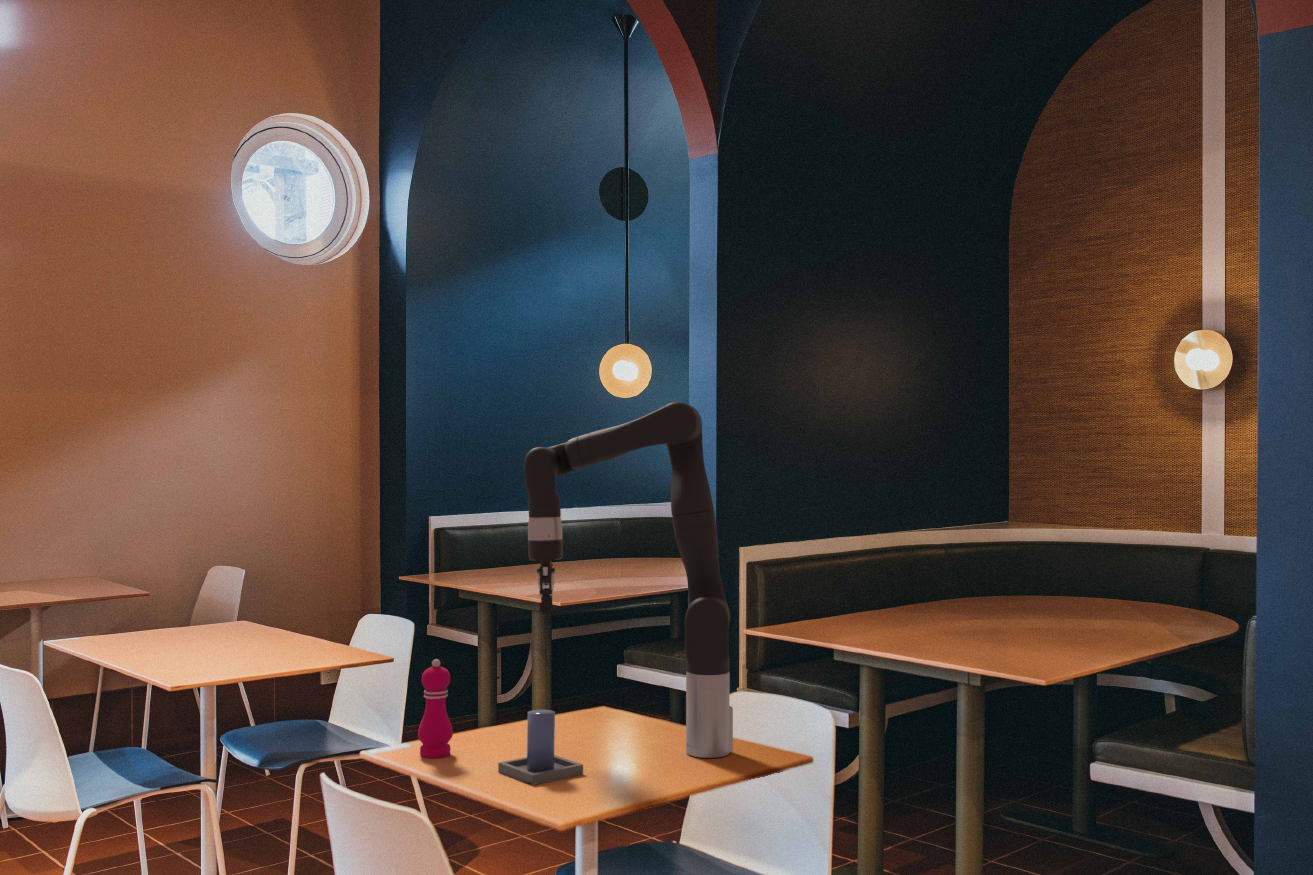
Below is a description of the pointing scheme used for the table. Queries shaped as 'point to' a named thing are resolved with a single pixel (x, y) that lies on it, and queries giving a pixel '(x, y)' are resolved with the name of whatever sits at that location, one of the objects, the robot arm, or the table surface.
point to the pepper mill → (435, 713)
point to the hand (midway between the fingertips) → (547, 612)
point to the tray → (520, 772)
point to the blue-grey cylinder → (540, 740)
